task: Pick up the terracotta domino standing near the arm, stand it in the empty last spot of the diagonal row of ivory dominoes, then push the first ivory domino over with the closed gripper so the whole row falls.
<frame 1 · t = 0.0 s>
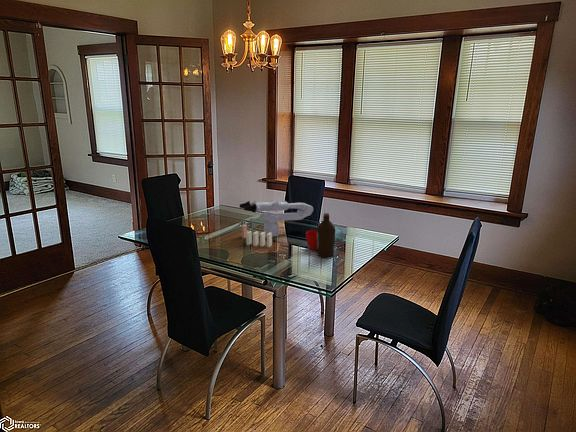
hand: (242, 207, 259), 22 cm above the table, tool horizontal, fingers open, 7 cm apart
olive oil: (325, 255, 236), on the table
ivory domino 1: (269, 246, 252), on the table
ceramic cup: (315, 248, 249), on the table
ivory domino 4: (249, 244, 256), on the table
ivory domino 2: (262, 245, 254), on the table
terracotta domino: (244, 236, 270), on the table
ivory domino 3: (255, 244, 255), on the table
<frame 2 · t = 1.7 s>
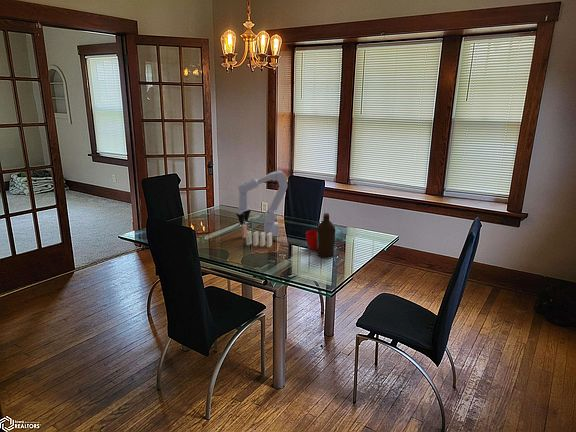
hand: (244, 222, 268), 10 cm above the table, tool pointing down, fingers open, 7 cm apart
nothing on the table moved.
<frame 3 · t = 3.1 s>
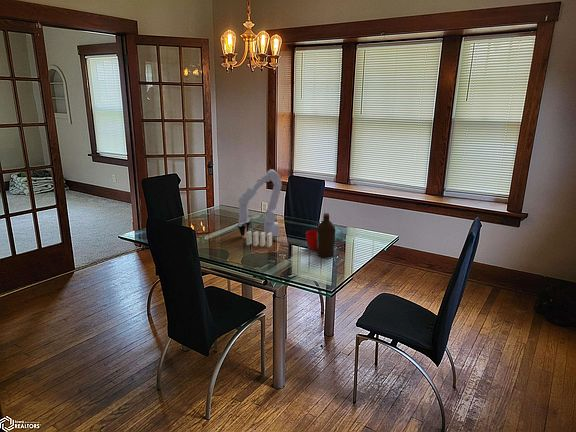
hand: (244, 234, 270), 2 cm above the table, tool pointing down, fingers closed on terracotta domino, 5 cm apart
terracotta domino: (244, 236, 270), on the table, touching gripper
everything else where it was.
when the fingers open (3 cm above the table, at t = 7.9 s): terracotta domino stays where it is, on the table.
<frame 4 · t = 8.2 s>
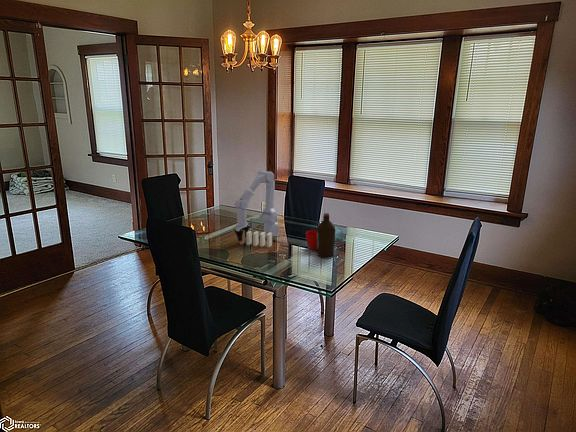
hand: (242, 239, 257), 3 cm above the table, tool pointing down, fingers open, 7 cm apart
terracotta domino: (242, 243, 257), on the table
everything else where it was.
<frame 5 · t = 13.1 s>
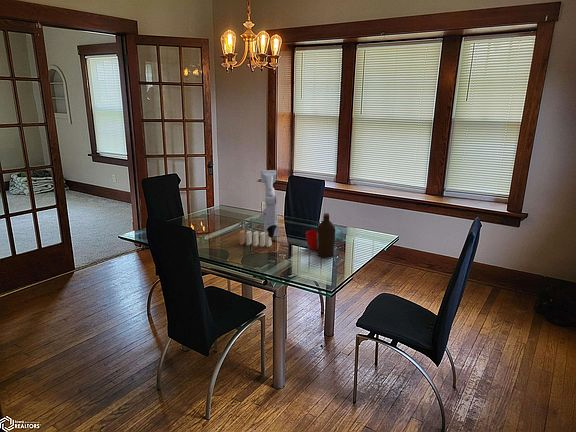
hand: (271, 237, 251), 6 cm above the table, tool pointing down, fingers closed
ivory domino 1: (269, 245, 252), on the table, tilted 10°
everything else where it was.
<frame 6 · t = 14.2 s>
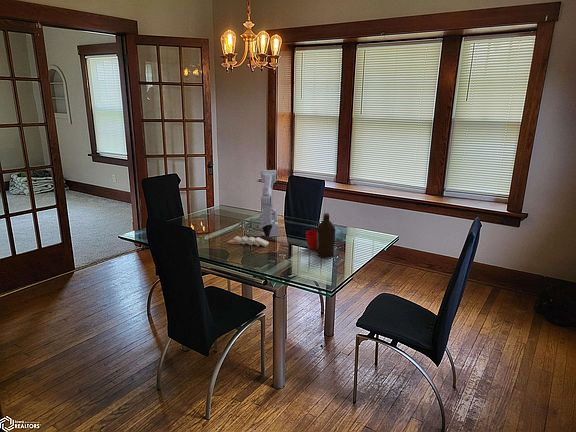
hand: (267, 236, 251), 6 cm above the table, tool pointing down, fingers closed
ivory domino 1: (267, 244, 252), point 1 cm above the table, tilted 69°, touching ivory domino 2
ivory domino 4: (246, 242, 257), point 1 cm above the table, tilted 76°, touching ivory domino 3, terracotta domino
ivory domino 2: (260, 243, 254), point 1 cm above the table, tilted 69°, touching ivory domino 1
terracotta domino: (241, 243, 258), on the table, tilted 90°, touching ivory domino 4
ivory domino 3: (253, 243, 255), point 1 cm above the table, tilted 71°, touching ivory domino 4
everything else where it was.
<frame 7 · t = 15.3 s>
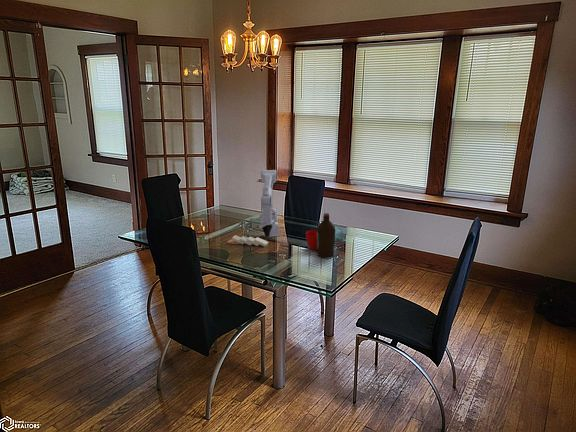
hand: (267, 236, 251), 6 cm above the table, tool pointing down, fingers closed
ivory domino 4: (244, 242, 257), point 1 cm above the table, tilted 72°, touching ivory domino 3, terracotta domino
ivory domino 2: (259, 243, 254), point 1 cm above the table, tilted 71°, touching ivory domino 1, ivory domino 3
ivory domino 3: (252, 243, 255), point 1 cm above the table, tilted 71°, touching ivory domino 2, ivory domino 4
everything else where it was.
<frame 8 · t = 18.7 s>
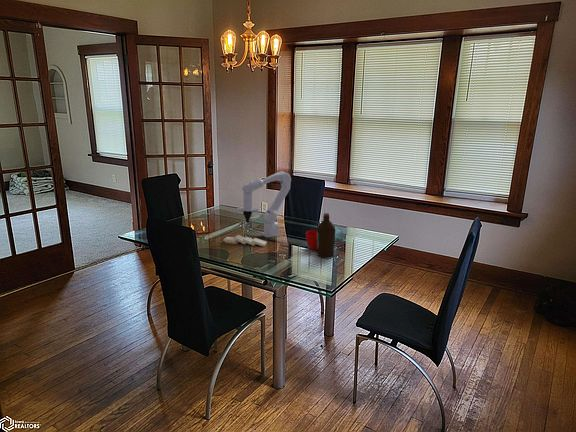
hand: (247, 222, 266), 10 cm above the table, tool pointing down, fingers closed
ivory domino 1: (265, 244, 253), point 1 cm above the table, tilted 75°, touching ivory domino 2
ivory domino 4: (236, 240, 258), point 2 cm above the table, tilted 90°, touching terracotta domino
ivory domino 2: (255, 243, 255), point 1 cm above the table, tilted 73°, touching ivory domino 1, ivory domino 3
terracotta domino: (238, 243, 258), on the table, tilted 90°, touching ivory domino 4
ivory domino 3: (246, 242, 257), point 1 cm above the table, tilted 70°, touching ivory domino 2
everything else where it was.
at the end: terracotta domino tilted 90°; terracotta domino 2.9 cm from the target spot, on the table; ivory domino 4 tilted 90° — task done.
